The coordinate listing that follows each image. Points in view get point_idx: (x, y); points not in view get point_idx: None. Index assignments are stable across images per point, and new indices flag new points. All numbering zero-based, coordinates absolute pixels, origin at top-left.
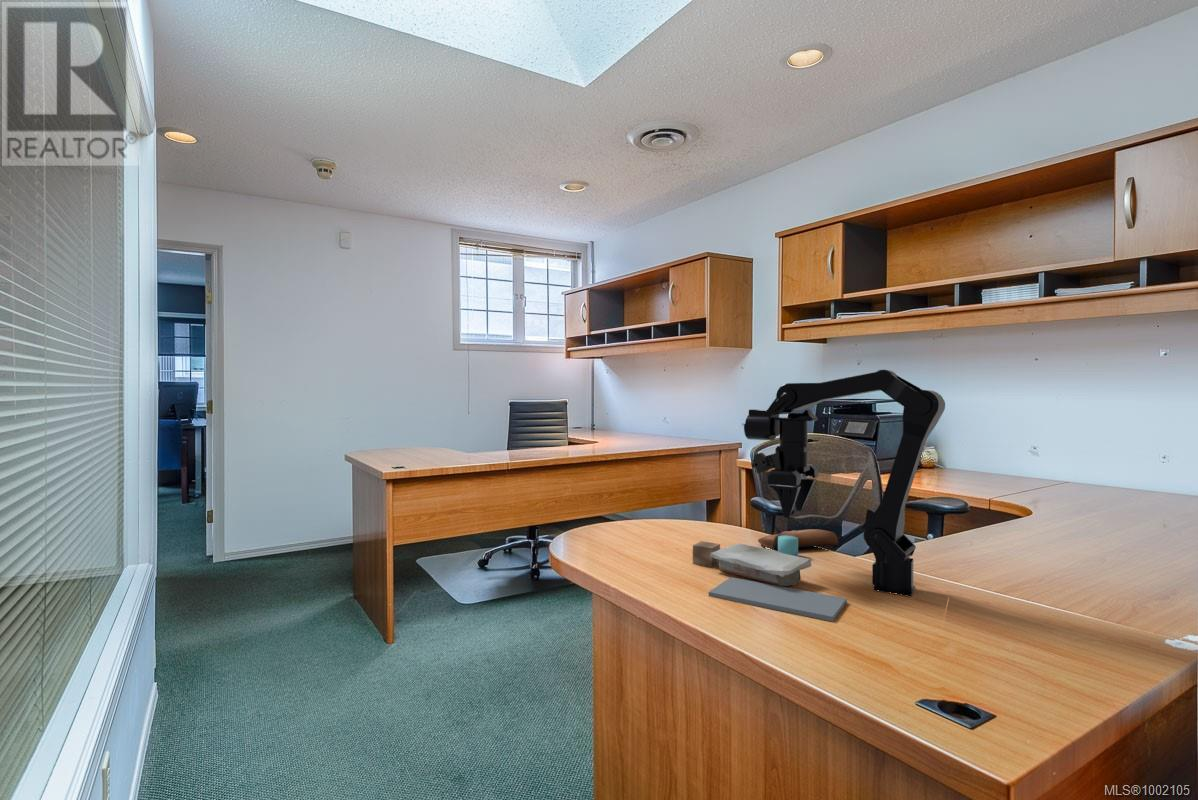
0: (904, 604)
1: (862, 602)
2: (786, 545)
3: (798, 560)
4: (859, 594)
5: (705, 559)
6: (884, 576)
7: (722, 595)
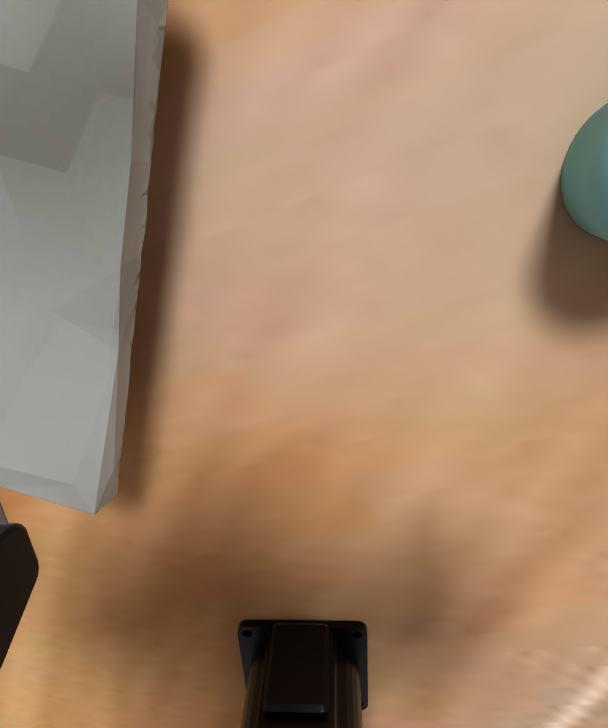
0: (159, 692)
1: (77, 611)
2: (606, 194)
3: (17, 473)
4: (156, 594)
5: None
6: (247, 700)
7: None
